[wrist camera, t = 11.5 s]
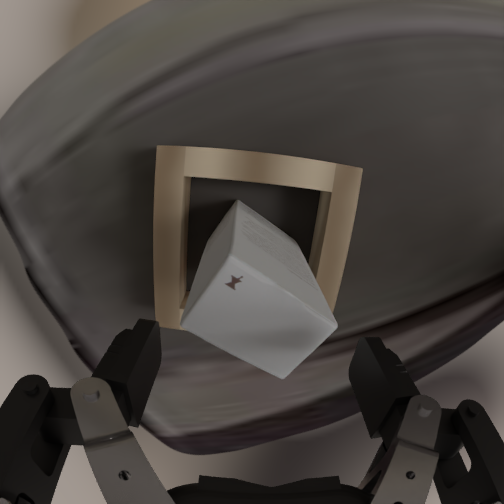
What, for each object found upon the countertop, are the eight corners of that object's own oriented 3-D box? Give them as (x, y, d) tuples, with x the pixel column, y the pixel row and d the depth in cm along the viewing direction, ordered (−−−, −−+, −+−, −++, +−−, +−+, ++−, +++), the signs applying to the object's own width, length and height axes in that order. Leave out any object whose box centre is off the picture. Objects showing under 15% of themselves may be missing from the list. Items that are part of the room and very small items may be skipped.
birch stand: (348, 165, 21) (362, 168, 19) (317, 321, 26) (325, 340, 23) (168, 145, 21) (157, 145, 18) (164, 307, 25) (156, 326, 23)
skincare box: (206, 240, 23) (173, 325, 12) (237, 197, 22) (228, 249, 11) (267, 281, 25) (283, 383, 13) (299, 241, 24) (343, 325, 12)
